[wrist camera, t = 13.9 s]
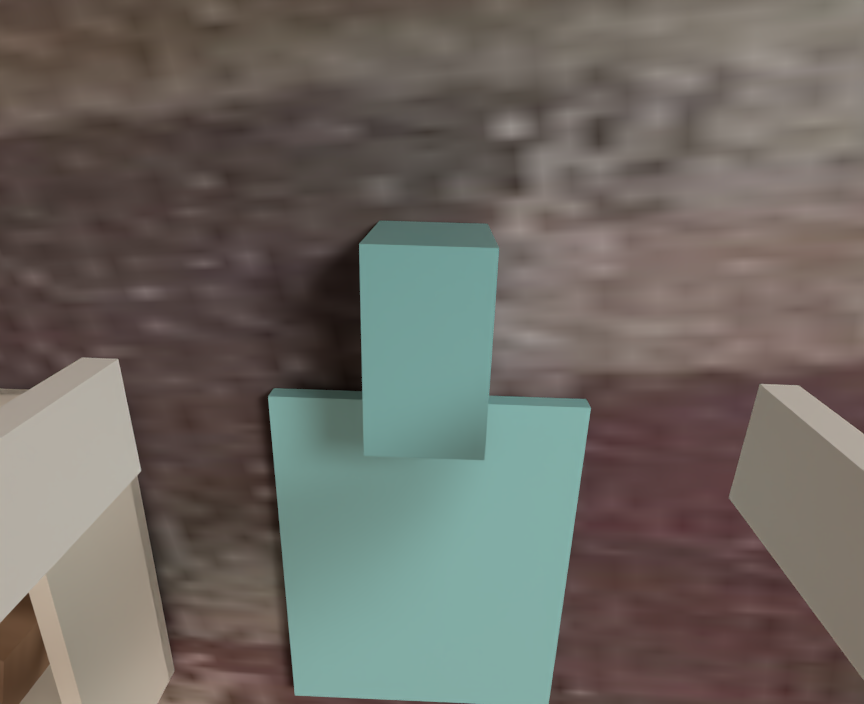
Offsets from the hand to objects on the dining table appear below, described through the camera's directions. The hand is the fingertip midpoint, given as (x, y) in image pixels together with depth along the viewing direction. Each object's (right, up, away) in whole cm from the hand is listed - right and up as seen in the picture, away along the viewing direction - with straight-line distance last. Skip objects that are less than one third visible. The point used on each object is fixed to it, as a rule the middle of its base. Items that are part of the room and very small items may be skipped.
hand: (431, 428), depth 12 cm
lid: (0, -5, +13) cm, 14 cm away
